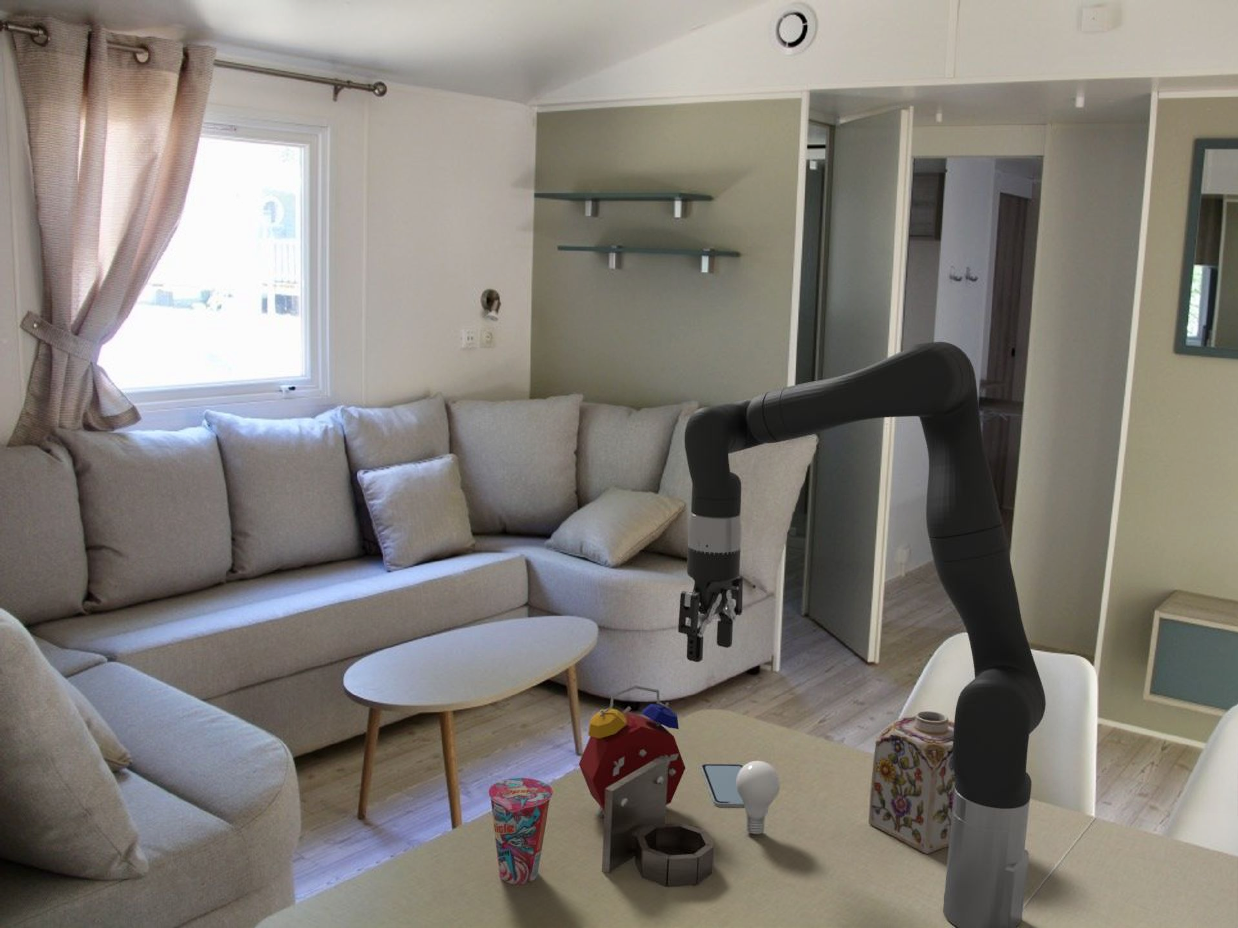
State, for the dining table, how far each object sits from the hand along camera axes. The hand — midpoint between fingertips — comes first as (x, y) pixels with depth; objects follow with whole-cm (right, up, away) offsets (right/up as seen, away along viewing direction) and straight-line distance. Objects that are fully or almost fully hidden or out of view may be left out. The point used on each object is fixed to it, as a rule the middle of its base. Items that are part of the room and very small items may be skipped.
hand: (709, 653), depth 179 cm
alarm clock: (-11, -25, +6) cm, 28 cm away
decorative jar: (+32, -27, +5) cm, 42 cm away
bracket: (-7, -28, -9) cm, 30 cm away
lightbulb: (+7, -27, +2) cm, 28 cm away
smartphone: (+4, -24, +17) cm, 30 cm away
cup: (-27, -28, -13) cm, 41 cm away
